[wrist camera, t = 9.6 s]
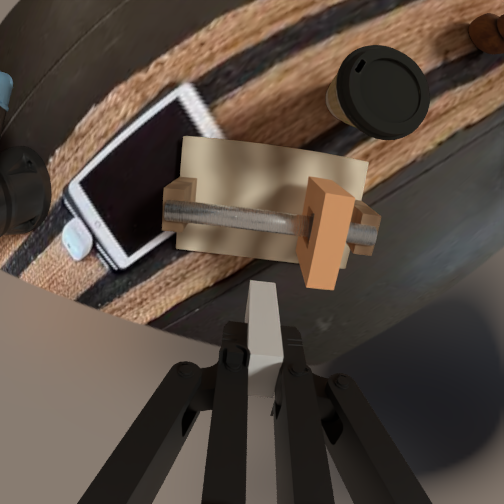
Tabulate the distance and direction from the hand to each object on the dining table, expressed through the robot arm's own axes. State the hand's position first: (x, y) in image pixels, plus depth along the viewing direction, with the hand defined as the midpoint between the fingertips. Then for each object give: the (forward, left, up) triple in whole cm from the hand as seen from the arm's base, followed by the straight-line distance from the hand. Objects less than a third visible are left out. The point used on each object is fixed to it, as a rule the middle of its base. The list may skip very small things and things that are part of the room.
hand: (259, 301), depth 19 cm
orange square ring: (+7, 0, -22) cm, 23 cm away
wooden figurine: (+32, +35, -26) cm, 54 cm away
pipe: (+2, 0, -19) cm, 19 cm away
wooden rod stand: (+2, 0, -26) cm, 26 cm away
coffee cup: (+10, +16, -26) cm, 32 cm away
